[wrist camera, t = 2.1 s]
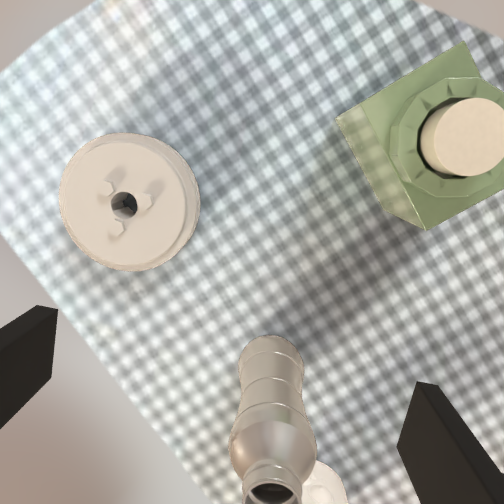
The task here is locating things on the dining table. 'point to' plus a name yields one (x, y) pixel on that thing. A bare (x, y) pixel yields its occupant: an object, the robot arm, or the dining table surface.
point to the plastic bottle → (272, 424)
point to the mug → (323, 487)
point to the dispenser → (408, 140)
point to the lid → (116, 190)
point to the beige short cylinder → (464, 137)
